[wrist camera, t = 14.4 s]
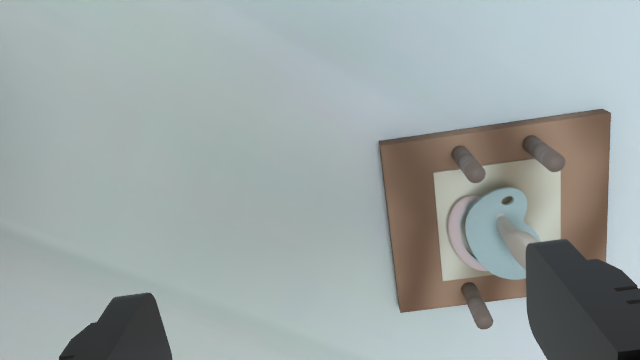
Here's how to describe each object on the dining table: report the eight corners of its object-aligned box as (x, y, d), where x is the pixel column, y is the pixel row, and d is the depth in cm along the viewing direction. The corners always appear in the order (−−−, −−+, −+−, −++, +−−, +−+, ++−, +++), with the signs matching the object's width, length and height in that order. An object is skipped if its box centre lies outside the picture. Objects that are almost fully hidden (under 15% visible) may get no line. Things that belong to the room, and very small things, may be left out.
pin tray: (398, 304, 44) (408, 347, 39) (379, 141, 40) (387, 166, 34) (597, 279, 43) (635, 320, 38) (602, 108, 39) (646, 129, 33)
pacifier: (465, 279, 42) (541, 252, 41) (485, 328, 36) (574, 299, 35) (432, 199, 40) (512, 168, 39) (448, 238, 34) (543, 204, 33)
